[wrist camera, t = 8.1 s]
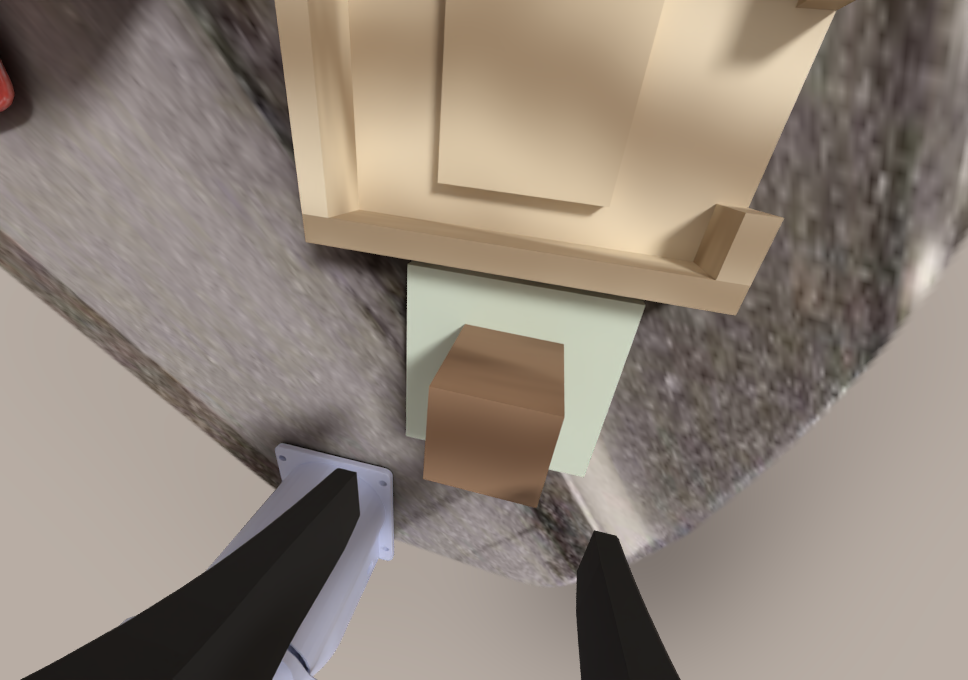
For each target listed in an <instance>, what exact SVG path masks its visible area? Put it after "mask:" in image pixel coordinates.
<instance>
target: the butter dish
mask: <svg viewBox="0 0 968 680" xmlns="http://www.w3.org/2000/svg"><path fill="white" fill-rule="evenodd" d="M14 95H15V93H14V90H13V85H12V82H11V80H10V78H9V76H8V74H7V72H6V70H5V68H4V66H3V64H2V61H1V59H0V112H2V111H4V110H5V109H7V108H8V107H9V106H10V105H11V104H12V102H13V98H14Z"/></svg>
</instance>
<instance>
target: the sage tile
mask: <svg viewBox="0 0 968 680" xmlns="http://www.w3.org/2000/svg"><path fill="white" fill-rule="evenodd" d="M645 306H646V305H645V303H644V302H643V300H639V299H633V298H628V297H622V296H616V295H610V294H604V293H598V292H593V291H587V290H581V289H575V288H569V287H563V286H557V285H552V284H546V283H540V282H534V281H528V280H522V279H516V278H511V277H505V276H499V275H493V274H487V273H481V272H475V271H470V270H464V269H458V268H452V267H446V266H440V265H435V264H429V263H423V262H417V261H411V262H410V263H409V264H407V377H406V436H408V437H412V438H416V439H421V440H425V439H426V424H427V408H428V393H429V385H430V384H431V382H432V380H433V378H434V377H435V375H436V373H437V372H438V370H439V368H440V366H441V365H442V363H443V361H444V359H445V358H446V356H447V354H448V352H449V351H450V349H451V347H452V346H453V344H454V342H455V340H456V339H457V337H458V335H459V333H460V332H461V330H462V328H463V327H464V325H465V324H468V325H473V326H478V327H483V328H488V329H492V330H497V331H502V332H507V333H512V334H517V335H522V336H527V337H532V338H536V339H541V340H546V341H551V342H556V343H561V344H564V401H565V418H564V421H563V424H562V427H561V431H560V434H559V437H558V440H557V444H556V447H555V450H554V453H553V456H552V460H551V463H550V466H549V469H550V470H554V471H558V472H563V473H567V474H571V475H576V476H580V477H584V476H585V473H586V470H587V467H588V464H589V462H590V459H591V456H592V453H593V451H594V448H595V445H596V442H597V439H598V437H599V434H600V431H601V428H602V425H603V423H604V420H605V417H606V414H607V411H608V409H609V406H610V403H611V400H612V398H613V395H614V392H615V389H616V386H617V384H618V381H619V378H620V375H621V372H622V370H623V367H624V364H625V361H626V359H627V356H628V353H629V350H630V347H631V345H632V342H633V339H634V336H635V333H636V331H637V328H638V325H639V322H640V320H641V317H642V314H643V311H644V308H645Z"/></svg>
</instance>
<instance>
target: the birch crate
mask: <svg viewBox="0 0 968 680" xmlns="http://www.w3.org/2000/svg"><path fill="white" fill-rule="evenodd" d="M853 1H855V0H275V7H276V15H277V23H278V30H279V38H280V46H281V54H282V61H283V69H284V77H285V85H286V92H287V100H288V108H289V116H290V123H291V131H292V139H293V147H294V155H295V162H296V170H297V178H298V186H299V193H300V201H301V209H302V217H303V224H304V232H305V240H306V242H309V243H315V244H320V245H326V246H332V247H338V248H344V249H350V250H356V251H361V252H367V253H373V254H379V255H385V256H391V257H397V258H402V259H408V260H414V261H420V262H426V263H432V264H438V265H443V266H449V267H455V268H461V269H467V270H473V271H479V272H484V273H490V274H496V275H502V276H508V277H514V278H520V279H525V280H531V281H537V282H543V283H549V284H555V285H561V286H566V287H572V288H578V289H584V290H590V291H596V292H602V293H607V294H613V295H619V296H625V297H631V298H637V299H643V300H648V301H654V302H660V303H666V304H672V305H678V306H684V307H690V308H695V309H701V310H707V311H713V312H719V313H725V314H731V315H736V314H737V312H738V310H739V308H740V306H741V304H742V302H743V300H744V298H745V296H746V294H747V292H748V290H749V288H750V286H751V284H752V282H753V280H754V278H755V276H756V274H757V271H758V269H759V267H760V265H761V263H762V261H763V259H764V257H765V255H766V253H767V251H768V249H769V247H770V245H771V243H772V241H773V239H774V237H775V235H776V233H777V231H778V229H779V227H780V225H781V223H782V221H783V219H784V218H782V217H778V216H775V215H771V214H767V213H764V212H760V211H757V210H753V209H750V208H748V207H749V205H750V203H751V200H752V198H753V196H754V194H755V191H756V189H757V187H758V185H759V182H760V180H761V178H762V176H763V173H764V171H765V169H766V167H767V164H768V162H769V160H770V158H771V155H772V153H773V151H774V149H775V146H776V144H777V142H778V140H779V138H780V135H781V133H782V131H783V129H784V126H785V124H786V122H787V120H788V117H789V115H790V113H791V111H792V108H793V106H794V104H795V102H796V99H797V97H798V95H799V93H800V90H801V88H802V86H803V84H804V81H805V79H806V77H807V75H808V72H809V70H810V68H811V66H812V63H813V61H814V59H815V57H816V54H817V52H818V50H819V48H820V46H821V43H822V41H823V39H824V37H825V34H826V32H827V30H828V28H829V25H830V23H831V21H832V19H833V16H834V14H835V12H836V10H838V9H840V8H842V7H844V6H846V5H848V4H849V3H851V2H853Z"/></svg>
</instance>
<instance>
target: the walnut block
mask: <svg viewBox="0 0 968 680" xmlns="http://www.w3.org/2000/svg"><path fill="white" fill-rule="evenodd" d="M564 418H565V401H564V344H561V343H556V342H551V341H546V340H541V339H536V338H532V337H527V336H522V335H517V334H512V333H507V332H502V331H497V330H492V329H488V328H483V327H478V326H473V325H468V324H465V325H464V327H463V328H462V330H461V332H460V333H459V335H458V337H457V339H456V340H455V342H454V344H453V346H452V347H451V349H450V351H449V352H448V354H447V356H446V358H445V359H444V361H443V363H442V365H441V366H440V368H439V370H438V372H437V373H436V375H435V377H434V378H433V380H432V382H431V384H430V385H429V393H428V408H427V424H426V439H425V455H424V470H423V479H426V480H429V481H433V482H437V483H441V484H445V485H449V486H453V487H457V488H461V489H464V490H468V491H472V492H476V493H480V494H484V495H488V496H492V497H495V498H499V499H503V500H507V501H511V502H515V503H519V504H523V505H527V506H530V507H534V508H537V505H538V502H539V498H540V495H541V492H542V489H543V486H544V482H545V479H546V476H547V473H548V469H549V466H550V463H551V460H552V456H553V453H554V450H555V447H556V444H557V440H558V437H559V434H560V431H561V427H562V424H563V421H564Z"/></svg>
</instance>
